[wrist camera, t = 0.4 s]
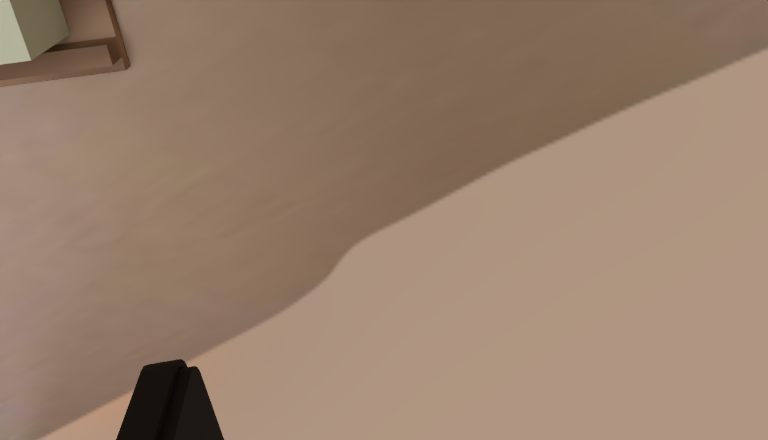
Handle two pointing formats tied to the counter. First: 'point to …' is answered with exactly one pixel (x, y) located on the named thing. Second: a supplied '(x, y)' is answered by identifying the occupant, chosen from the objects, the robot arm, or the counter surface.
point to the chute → (76, 47)
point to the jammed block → (29, 28)
